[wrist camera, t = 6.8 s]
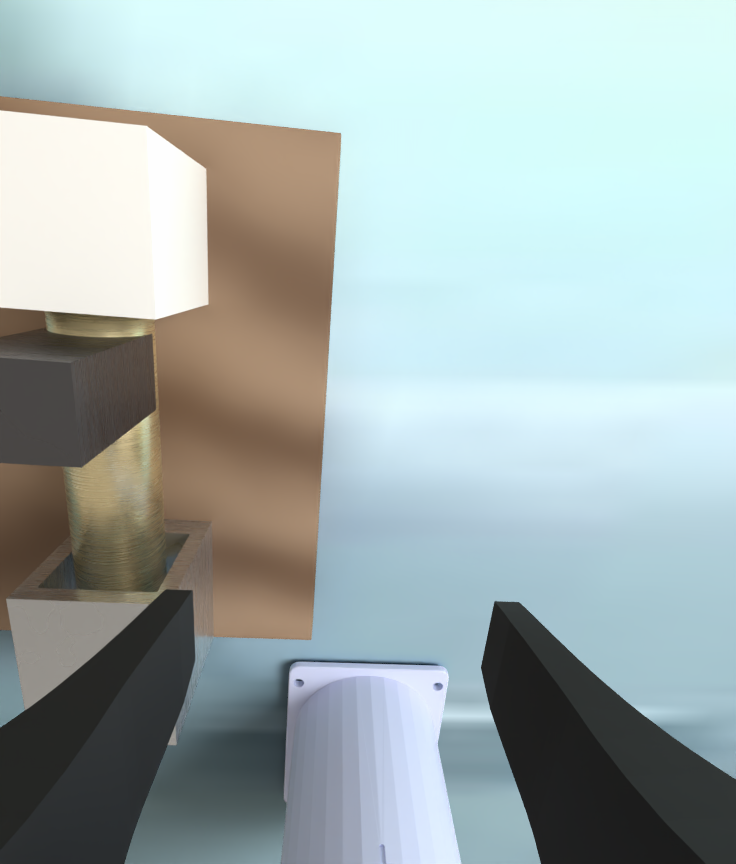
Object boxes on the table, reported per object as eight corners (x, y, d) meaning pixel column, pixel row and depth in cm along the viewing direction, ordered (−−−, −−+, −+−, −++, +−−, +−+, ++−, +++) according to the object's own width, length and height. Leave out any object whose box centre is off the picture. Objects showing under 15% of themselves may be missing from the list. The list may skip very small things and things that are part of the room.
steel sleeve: (213, 636, 23) (176, 745, 18) (101, 633, 23) (30, 742, 17) (212, 521, 21) (169, 604, 16) (90, 515, 21) (6, 598, 16)
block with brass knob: (181, 570, 20) (109, 706, 14) (99, 566, 20) (-10, 703, 14) (167, 210, 16) (56, 174, 10) (63, 200, 16) (-118, 157, 10)
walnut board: (312, 625, 24) (311, 639, 23) (12, 614, 23) (-2, 629, 22) (341, 140, 18) (341, 133, 17) (-75, 95, 17) (-100, 85, 16)
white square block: (208, 304, 18) (155, 319, 13) (67, 292, 18) (-45, 303, 13) (206, 168, 17) (146, 125, 12) (53, 153, 17) (-79, 102, 11)
